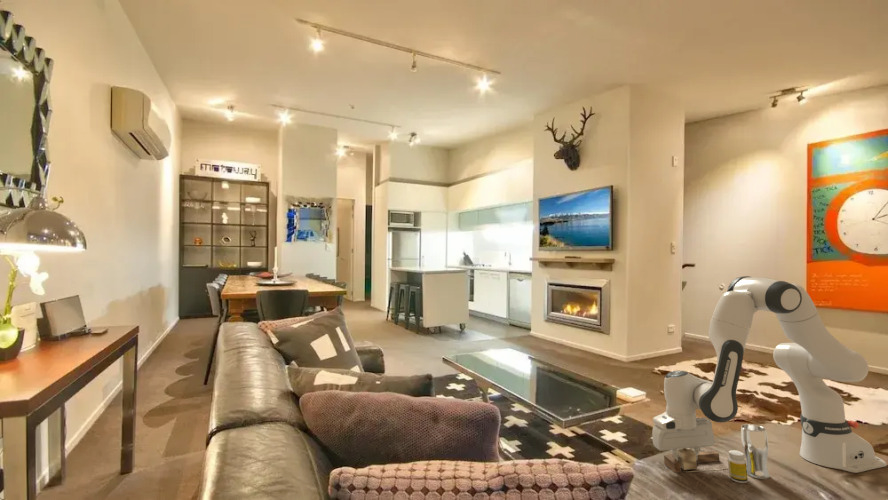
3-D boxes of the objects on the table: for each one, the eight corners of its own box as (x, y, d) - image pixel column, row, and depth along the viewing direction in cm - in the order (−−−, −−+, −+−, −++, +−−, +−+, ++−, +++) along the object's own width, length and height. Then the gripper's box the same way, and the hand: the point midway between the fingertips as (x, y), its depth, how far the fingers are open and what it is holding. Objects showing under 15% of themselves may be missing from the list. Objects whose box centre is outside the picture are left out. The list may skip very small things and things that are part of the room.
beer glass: (742, 475, 131) (738, 428, 132) (745, 467, 136) (741, 422, 137) (770, 482, 126) (765, 433, 127) (772, 473, 131) (767, 426, 132)
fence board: (715, 458, 143) (714, 449, 143) (732, 468, 135) (731, 459, 135) (662, 462, 142) (661, 453, 143) (675, 473, 134) (675, 463, 135)
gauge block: (688, 462, 140) (686, 442, 141) (697, 468, 136) (694, 448, 136) (676, 463, 140) (674, 444, 140) (684, 469, 135) (682, 449, 136)
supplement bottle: (751, 483, 126) (748, 456, 126) (734, 483, 127) (731, 455, 127) (742, 476, 130) (740, 449, 131) (726, 475, 131) (724, 449, 132)
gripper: (704, 413, 142) (708, 453, 141) (648, 418, 141) (652, 458, 141) (717, 420, 136) (721, 462, 135) (658, 425, 135) (662, 467, 134)
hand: (685, 460), depth 138 cm, fingers closed on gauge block, 4 cm apart
